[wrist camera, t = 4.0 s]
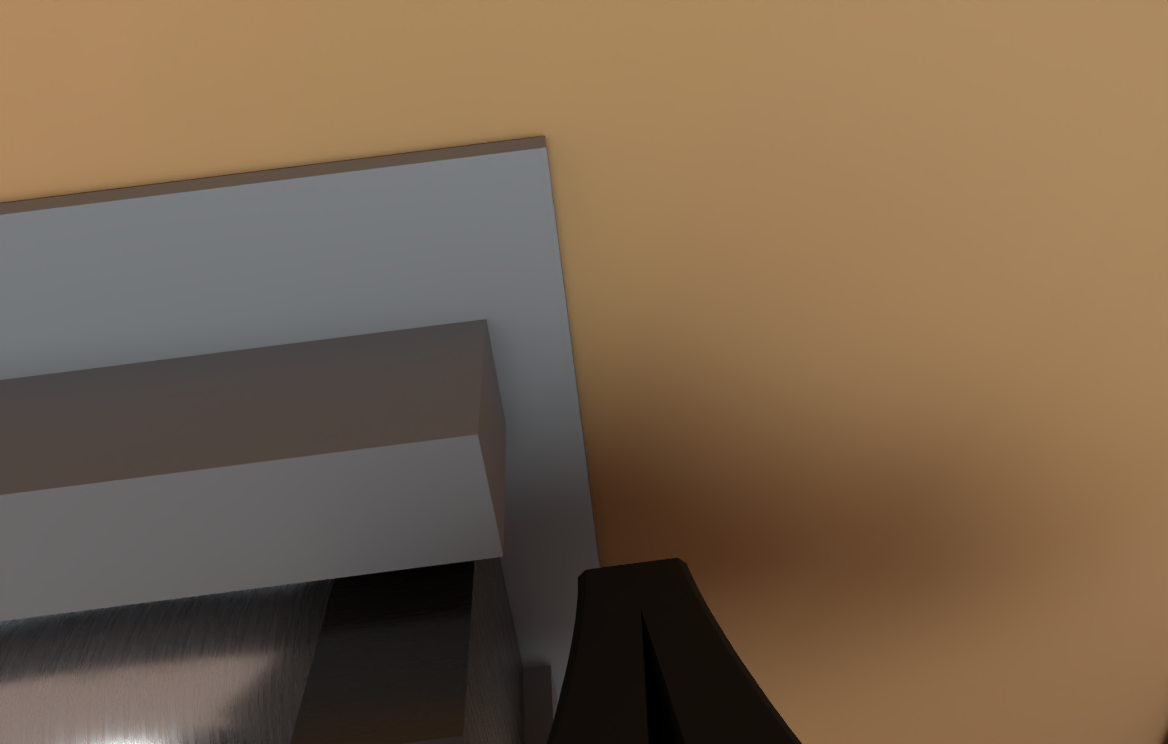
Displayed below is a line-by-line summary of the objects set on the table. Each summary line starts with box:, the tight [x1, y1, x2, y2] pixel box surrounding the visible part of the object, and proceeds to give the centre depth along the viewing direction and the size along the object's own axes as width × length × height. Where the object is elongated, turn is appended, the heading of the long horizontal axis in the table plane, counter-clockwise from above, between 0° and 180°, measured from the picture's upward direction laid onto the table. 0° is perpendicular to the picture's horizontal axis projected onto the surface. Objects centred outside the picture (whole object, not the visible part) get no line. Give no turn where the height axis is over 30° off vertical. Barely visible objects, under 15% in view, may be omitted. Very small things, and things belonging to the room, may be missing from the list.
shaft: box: [0, 557, 524, 744], centre depth 10 cm, size 4×10×4 cm, turn 96°
